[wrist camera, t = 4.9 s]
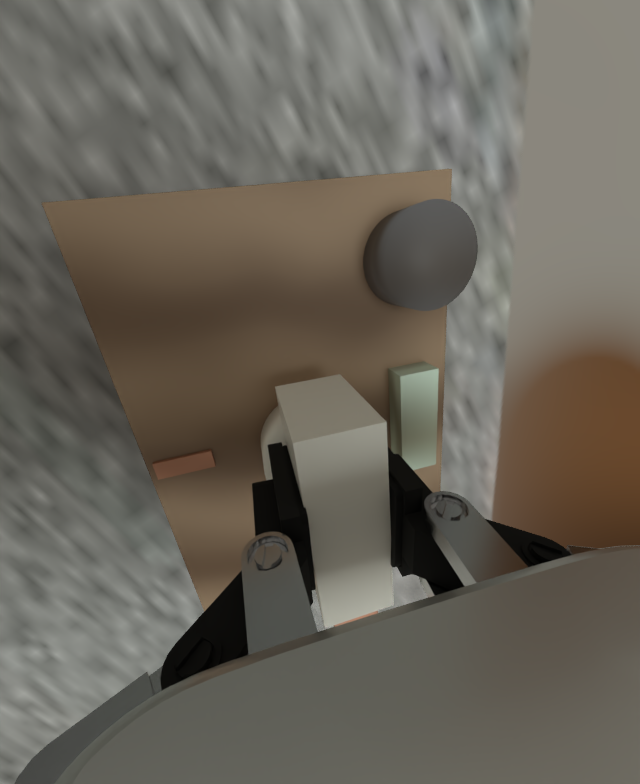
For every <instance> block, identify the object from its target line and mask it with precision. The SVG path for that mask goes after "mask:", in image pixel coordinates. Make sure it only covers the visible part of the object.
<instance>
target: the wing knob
mask: <svg viewBox="0 0 640 784" xmlns="http://www.w3.org/2000/svg"><path fill="white" fill-rule="evenodd" d="M275 390H276V395H277V401H278V406H277V407H276V408H275V409H274V410H273V411H272V412H271V413H270V414H269V416H268V417H267V419H266V421H265V423H264V425H263V428H262V431H261V450H262V458H263V465H264V473H265V477H266V480H270V479H273V477H272V471H271V464H270V458H269V451H268V445H269V444H274V443H280V442H282V445H283V446H284V445H287V448H288V452H289V455H290V459H291V463H292V466H293V470H294V474H295V477H296V481H297V484H298V488H299V492H300V495H301V499H302V502H303V506H304V508H306V511H307V515H308V522H309V530H310V539H311V549H312V558H313V567H314V576H315V585H316V589H315V590H316V594H317V598H318V602H319V606H320V610H321V614H322V619H323V623H324V627H325V628H328V627H331V626H334V627H336V626H339V625H342V624H345V623H349V622H352V621H355V620H358V619H361V618H364V617H368V616H371V615H374V614H377V613H378V610H381V609H384V608H387V607H390V606H393V605H394V602H393V575H392V566H391V523H390V497H389V471H388V445H387V422H386V421H385V420H384V419H383V418H382V417H381V416H380V415H379V414H378V413H377V412H376V410H375V409H374V408H373V407H372V406H371V405H370V404H369V403H368V402H367V401H366V400H365V399H364V398H363V397H362V396H361V395H360V394H359V393H358V392H357V391H356V390H355V389H354V388H353V387H352V386H351V385H350V384H349V383H348V382H347V381H346V380H345V379H344V378H343V377H342V376H341V375H340V374H338V375H333V376H328V377H323V378H317V379H312V380H307V381H302V382H297V383H292V384H286V385H281V386H276V387H275Z"/></svg>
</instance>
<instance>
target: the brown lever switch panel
mask: <svg viewBox="0 0 640 784" xmlns="http://www.w3.org/2000/svg"><path fill="white" fill-rule="evenodd" d="M451 177H452V169H442V170H430V171H418V172H406V173H394V174H382V175H370V176H358V177H346V178H334V179H322V180H310V181H298V182H286V183H274V184H261V185H249V186H237V187H225V188H213V189H201V190H189V191H177V192H165V193H153V194H141V195H129V196H117V197H105V198H93V199H80V200H68V201H56V202H44V203H42V205H43V208H44V210H45V213H46V215H47V218H48V220H49V223H50V225H51V228H52V230H53V233H54V235H55V238H56V240H57V243H58V245H59V248H60V250H61V253H62V256H63V258H64V261H65V263H66V266H67V268H68V271H69V273H70V276H71V278H72V281H73V283H74V286H75V288H76V291H77V293H78V296H79V298H80V301H81V303H82V306H83V308H84V311H85V313H86V316H87V318H88V321H89V323H90V326H91V328H92V331H93V333H94V336H95V338H96V341H97V343H98V346H99V348H100V351H101V353H102V356H103V358H104V361H105V363H106V366H107V368H108V371H109V373H110V376H111V378H112V381H113V383H114V386H115V388H116V391H117V393H118V396H119V398H120V401H121V403H122V406H123V408H124V411H125V413H126V416H127V418H128V421H129V424H130V426H131V429H132V431H133V434H134V436H135V439H136V441H137V444H138V446H139V449H140V451H141V454H142V456H143V459H144V461H145V464H146V466H147V469H148V471H149V474H150V476H151V479H152V481H153V484H154V486H155V489H156V491H157V494H158V496H159V499H160V501H161V504H162V506H163V509H164V511H165V514H166V516H167V519H168V521H169V524H170V526H171V529H172V531H173V534H174V536H175V539H176V541H177V544H178V546H179V549H180V551H181V554H182V556H183V559H184V561H185V564H186V566H187V569H188V571H189V574H190V576H191V579H192V581H193V584H194V586H195V589H196V591H197V594H198V597H199V599H200V602H201V604H202V607H203V609H204V612H205V610H206V609H207V608H208V607H209V606H210V605H211V604H212V603H213V602H214V600H215V599H216V598H217V597H218V596H219V595H220V594H221V593H222V591H223V590H224V589H225V588H226V587H227V586H228V585H229V584H230V583H231V581H232V580H233V579H234V578H235V577H236V576H237V575H238V574H239V573H240V571H241V570H242V569H241V554H242V551H243V549H244V547H245V546H246V544H247V543H248V542H249V541H250V540H251V539H253V538H254V537H255V523H254V508H253V493H252V483H256V482H261V481H266V477H265V473H264V465H263V458H262V450H261V431H262V428H263V425H264V423H265V421H266V419H267V417H268V416H269V414H270V413H271V412H272V411H273V410H274V409H275V408H276V407H277V406H278V401H277V395H276V390H275V387H276V386H281V385H286V384H292V383H297V382H302V381H307V380H312V379H317V378H323V377H328V376H333V375H338V374H340V375H341V376H342V377H343V378H344V379H345V380H346V381H347V382H348V383H349V384H350V385H351V386H352V387H353V388H354V389H355V390H356V391H357V392H358V393H359V394H360V395H361V396H362V397H363V398H364V399H365V400H366V401H367V402H368V403H369V404H370V405H371V406H372V407H373V408H374V409H375V410H376V412H377V413H378V414H379V415H380V416H381V417H382V418H383V419H384V420H385V421H386V422H387V445H388V447H389V448H390V449H391V451H392V452H393V453H394V454H399V455H400V456H401V457H402V458H403V459H404V460H405V461H406V463H407V464H408V465H409V466H410V467H411V468H412V469H413V471H414V472H415V473H416V474H417V475H418V476H419V477H420V479H421V480H422V481H423V482H424V483H425V484H426V486H427V487H428V488H429V489H430V490H431V491H432V492H433V493H434V492H440V482H441V454H442V427H443V399H444V371H445V344H446V316H447V304H449V303H450V302H451V301H453V300H454V299H455V298H456V297H457V296H458V295H459V294H460V293H461V292H462V291H463V289H464V288H465V287H466V285H467V283H468V282H469V280H470V278H471V276H472V273H473V271H474V268H475V264H476V259H477V248H478V245H477V236H476V231H475V228H474V225H473V223H472V221H471V219H470V218H469V216H468V215H467V213H466V212H465V211H464V210H463V209H462V208H461V207H460V206H458V205H457V204H455V203H453V202H451Z"/></svg>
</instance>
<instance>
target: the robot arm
mask: <svg viewBox="0 0 640 784" xmlns="http://www.w3.org/2000/svg"><path fill="white" fill-rule="evenodd" d="M268 451H269V458H270V464H271V471H272V477H273V479H270V480H266V481H261V482H256V483H252V493H253V508H254V523H255V537H254V538H253V539H251V540H250V541H249V542H248V543H247V544H246V546H245V547H244V549H243V551H242V554H241V569H242V570H241V571H240V573H239V574H238V575H237V576H236V577H235V578H234V579H233V580H232V581H231V583H230V584H229V585H228V586H227V587H226V588H225V589H224V590H223V591H222V593H221V594H220V595H219V596H218V597H217V598H216V599H215V600H214V602H213V603H212V604H211V605H210V606H209V607H208V608H207V609H206V610H205V612H204V613H203V614H202V615H201V616H200V617H199V618H198V619H197V621H196V622H195V623H194V624H193V625H192V626H191V627H190V628H189V629H188V631H187V632H186V633H185V634H184V635H183V636H182V637H181V638H180V640H179V641H178V642H177V643H176V644H175V645H174V647H173V648H172V649H171V651H170V652H169V654H168V655H167V657H166V660H165V662H164V664H163V666H162V667H161V668H159V669H158V670H157V671H155V672H154V673H153V674H151V675H150V676H149V675H148V673H147V672H146V673H145V674H143V675H142V676H140V677H139V678H138V679H136V680H135V681H134V682H132V683H131V684H130V685H128V686H127V687H125V688H124V689H123V690H121V691H120V692H119V693H117V694H116V695H115V696H113V697H112V698H110V699H109V700H108V701H106V702H105V703H104V704H102V705H101V706H100V707H98V708H97V709H95V710H94V711H93V712H91V713H90V714H89V715H87V716H86V717H85V718H83V719H82V720H80V721H79V722H78V723H76V724H75V725H74V726H72V727H71V728H70V729H68V730H67V731H65V732H64V733H63V734H61V735H60V736H59V737H57V738H56V739H55V740H53V741H52V742H50V743H49V744H48V745H47V746H46V747H44V748H43V749H42V750H41V751H40V752H39V753H38V754H37V755H36V756H34V757H33V758H32V760H31V761H30V762H29V763H28V765H27V766H26V767H25V769H24V770H23V771H22V772H21V774H20V775H19V776H18V778H17V780H16V782H15V784H640V546H617V547H610V548H602V549H598V548H588V547H579V546H570V545H568V546H567V549H565V548H564V547H563V546H561V545H559V544H558V543H556V542H554V541H552V540H550V539H547V538H545V537H542V536H539V535H535V534H532V533H529V532H526V531H522V530H519V529H516V528H513V527H509V526H506V525H503V524H500V523H496V522H493V521H490V520H487V519H484V517H483V516H482V515H481V514H480V513H479V512H478V511H477V510H476V509H475V508H474V506H473V505H472V504H471V503H470V502H469V501H468V500H466V499H465V498H464V497H462V496H460V495H458V494H455V493H452V492H445V491H440V492H434V493H433V492H432V491H431V490H430V489H429V488H428V487H427V486H426V484H425V483H424V482H423V481H422V480H421V479H420V477H419V476H418V475H417V474H416V473H415V472H414V471H413V469H412V468H411V467H410V466H409V465H408V464H407V463H406V461H405V460H404V459H403V458H402V457H401V456H400V455H399V454H394V453H393V452H392V451H391V449H390V448H389V447H388V471H389V497H390V523H391V566H392V567H397V568H398V569H399V571H400V573H401V575H402V577H403V576H406V575H410V574H414V575H417V576H419V579H420V582H421V585H422V587H423V589H424V591H425V593H426V595H427V597H428V598H426V599H423V600H419V601H416V602H413V603H410V604H406V605H403V606H400V607H397V608H393V609H390V610H387V611H384V612H380V613H377V614H374V615H371V616H368V617H364V618H361V619H358V620H355V621H352V622H349V623H345V624H342V625H339V626H336V627H333V628H329V629H326V630H323V631H320V632H317V628H316V625H315V621H314V617H313V614H312V610H311V607H310V606H311V605H312V603H313V599H312V590H315V589H316V585H315V576H314V567H313V558H312V549H311V539H310V530H309V522H308V515H307V511H306V508H304V506H303V502H302V499H301V495H300V492H299V488H298V484H297V481H296V477H295V474H294V470H293V466H292V463H291V459H290V455H289V452H288V448H287V445H284V446H283V445H282V442H280V443H274V444H269V445H268Z"/></svg>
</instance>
